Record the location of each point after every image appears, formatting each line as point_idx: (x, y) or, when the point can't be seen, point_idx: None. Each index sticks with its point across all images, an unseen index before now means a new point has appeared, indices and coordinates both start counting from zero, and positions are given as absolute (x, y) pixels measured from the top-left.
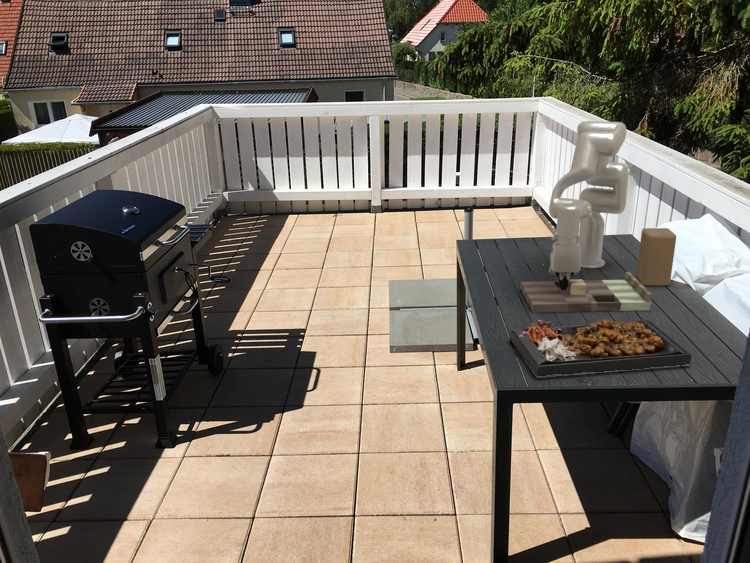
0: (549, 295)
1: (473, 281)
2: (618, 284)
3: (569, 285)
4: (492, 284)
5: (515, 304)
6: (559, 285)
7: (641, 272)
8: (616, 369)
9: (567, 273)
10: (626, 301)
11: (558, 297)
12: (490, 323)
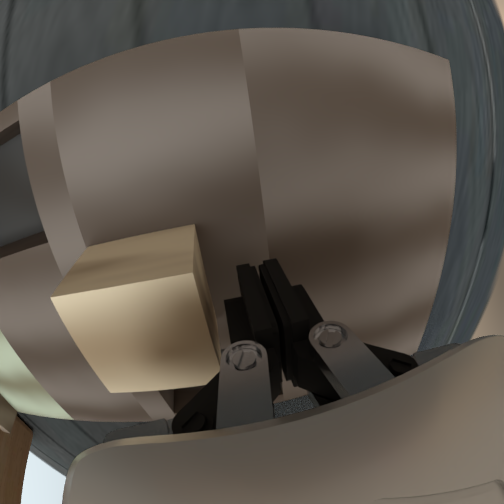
0: (359, 198)
1: (468, 338)
2: (9, 383)
3: (209, 317)
4: (447, 338)
5: (458, 169)
6: (305, 294)
7: (1, 430)
8: None
9: (272, 410)
10: None
11: (303, 159)
12: (496, 30)
